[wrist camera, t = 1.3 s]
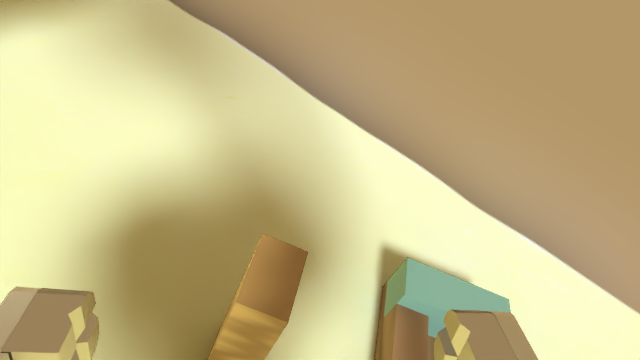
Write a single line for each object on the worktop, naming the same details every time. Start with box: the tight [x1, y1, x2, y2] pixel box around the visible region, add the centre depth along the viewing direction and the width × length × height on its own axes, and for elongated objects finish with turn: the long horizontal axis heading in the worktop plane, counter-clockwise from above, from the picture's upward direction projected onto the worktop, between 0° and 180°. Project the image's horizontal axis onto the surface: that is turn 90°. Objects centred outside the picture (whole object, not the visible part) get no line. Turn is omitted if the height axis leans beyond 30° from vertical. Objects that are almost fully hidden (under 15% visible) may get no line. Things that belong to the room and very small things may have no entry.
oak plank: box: [208, 234, 308, 360], centre depth 30 cm, size 3×5×12 cm, turn 168°
